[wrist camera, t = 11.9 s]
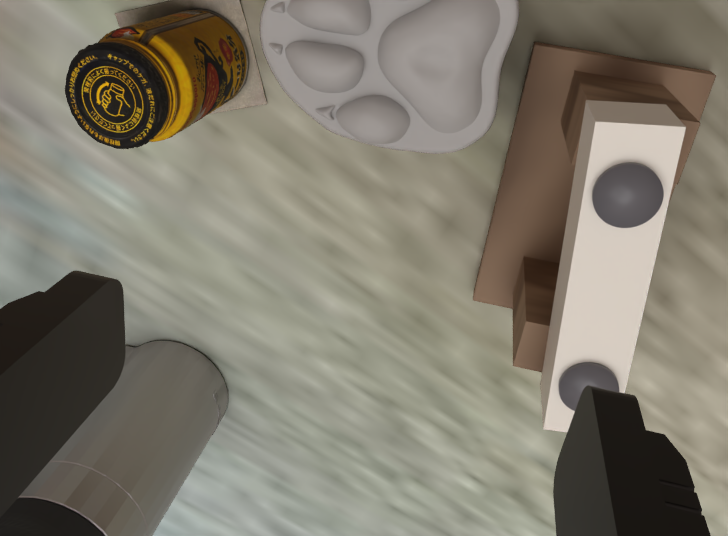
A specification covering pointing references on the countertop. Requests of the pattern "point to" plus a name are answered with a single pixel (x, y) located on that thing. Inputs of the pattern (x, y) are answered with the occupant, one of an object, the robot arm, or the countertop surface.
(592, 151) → the frame bar
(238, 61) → the condiment
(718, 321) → the countertop surface
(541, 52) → the stand
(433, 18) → the paw print tray
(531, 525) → the countertop surface
